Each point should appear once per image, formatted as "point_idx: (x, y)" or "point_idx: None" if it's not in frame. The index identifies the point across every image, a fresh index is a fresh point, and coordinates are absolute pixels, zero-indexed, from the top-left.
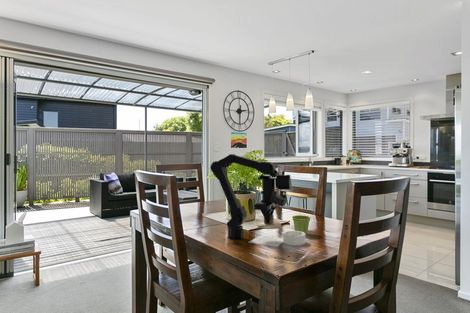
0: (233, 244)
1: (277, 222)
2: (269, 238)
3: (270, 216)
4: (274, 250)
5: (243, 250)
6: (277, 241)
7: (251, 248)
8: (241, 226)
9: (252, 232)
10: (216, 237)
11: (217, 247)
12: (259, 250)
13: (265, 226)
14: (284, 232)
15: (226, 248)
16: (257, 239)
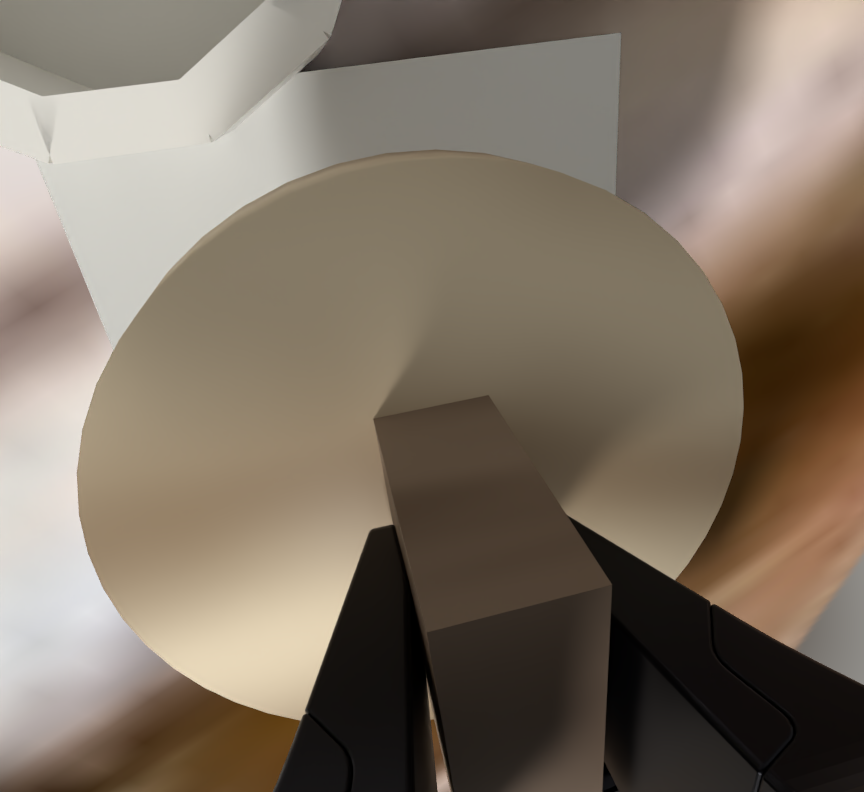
0: (696, 551)
1: (127, 430)
2: None
3: (596, 609)
4: (728, 3)
5: (850, 355)
6: None
7: (755, 332)
8: None
9: (142, 730)
10: None
11: (830, 577)
12: (797, 203)
13: (737, 403)
14: (171, 99)
15: (835, 511)
16: None
